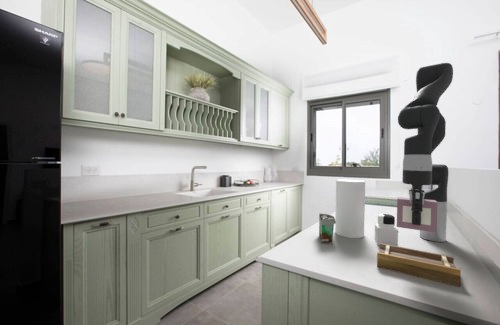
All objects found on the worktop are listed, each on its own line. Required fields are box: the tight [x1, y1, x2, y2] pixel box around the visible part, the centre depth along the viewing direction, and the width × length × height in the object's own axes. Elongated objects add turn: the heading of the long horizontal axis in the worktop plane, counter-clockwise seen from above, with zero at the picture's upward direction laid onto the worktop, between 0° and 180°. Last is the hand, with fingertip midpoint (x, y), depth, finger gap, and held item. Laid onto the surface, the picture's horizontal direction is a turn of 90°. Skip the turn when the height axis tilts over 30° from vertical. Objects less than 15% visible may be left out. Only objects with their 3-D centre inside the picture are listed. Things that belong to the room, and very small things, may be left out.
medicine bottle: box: [374, 213, 399, 246], centre depth 95 cm, size 7×7×12 cm
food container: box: [318, 212, 336, 244], centre depth 99 cm, size 12×6×10 cm, turn 168°
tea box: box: [396, 196, 437, 233], centre depth 73 cm, size 10×5×9 cm, turn 56°
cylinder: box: [334, 178, 366, 239], centre depth 108 cm, size 12×12×25 cm
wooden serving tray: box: [376, 243, 462, 287], centre depth 73 cm, size 11×20×4 cm, turn 56°
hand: (415, 222), depth 73 cm, fingers closed on tea box, 5 cm apart
